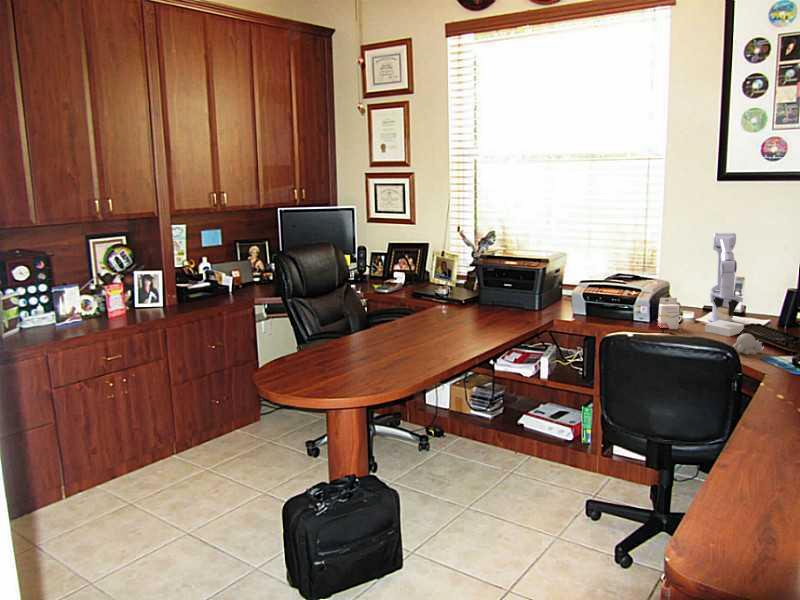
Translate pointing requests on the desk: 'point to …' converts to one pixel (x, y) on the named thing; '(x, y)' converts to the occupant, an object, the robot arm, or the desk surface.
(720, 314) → the beech block
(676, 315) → the ink cartridge box
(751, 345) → the round bodied animal figurine
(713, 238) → the robot arm
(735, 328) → the grey box
